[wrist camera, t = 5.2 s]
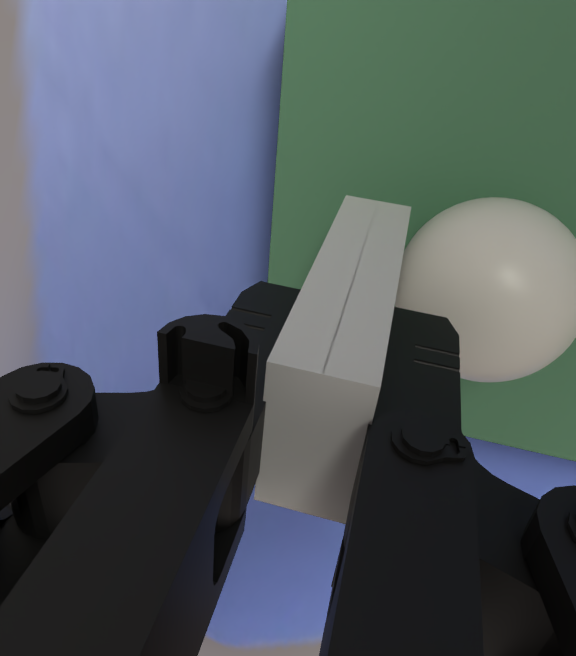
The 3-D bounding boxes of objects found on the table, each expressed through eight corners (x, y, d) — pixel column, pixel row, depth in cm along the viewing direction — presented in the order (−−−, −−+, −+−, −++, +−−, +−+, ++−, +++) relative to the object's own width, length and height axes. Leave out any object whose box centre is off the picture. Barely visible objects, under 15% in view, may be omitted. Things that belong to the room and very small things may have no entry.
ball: (402, 163, 13) (431, 237, 9) (577, 179, 13) (667, 259, 9) (373, 310, 15) (388, 412, 12) (521, 323, 15) (578, 430, 12)
